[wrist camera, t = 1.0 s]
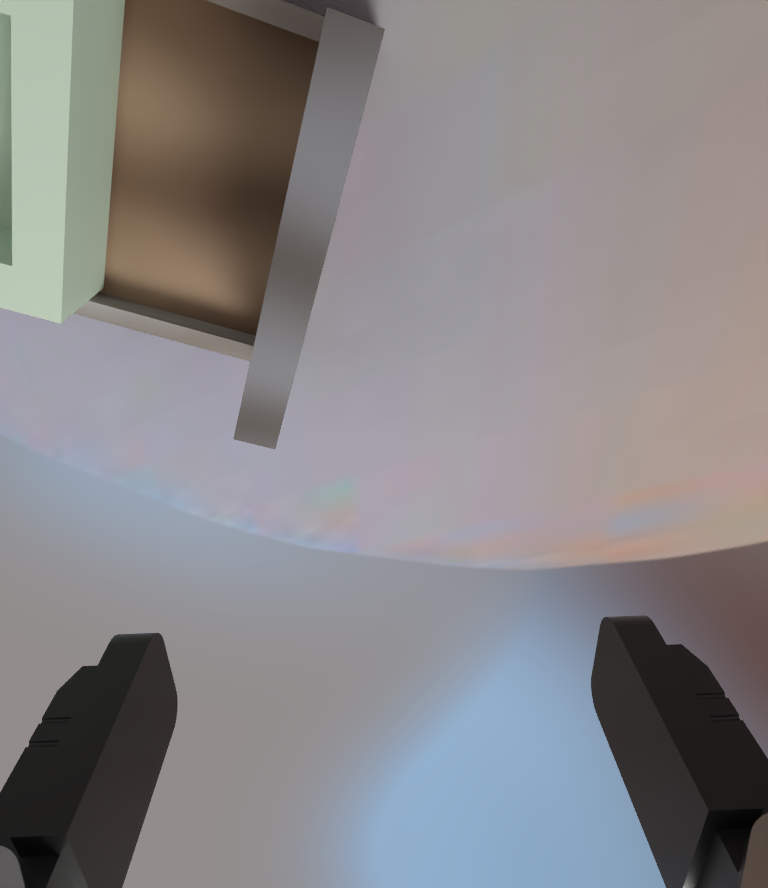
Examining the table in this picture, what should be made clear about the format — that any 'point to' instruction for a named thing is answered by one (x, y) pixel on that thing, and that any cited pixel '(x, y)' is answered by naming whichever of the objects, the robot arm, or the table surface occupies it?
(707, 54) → the table surface
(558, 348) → the table surface
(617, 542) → the table surface
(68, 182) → the slider block
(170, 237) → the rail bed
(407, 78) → the table surface
